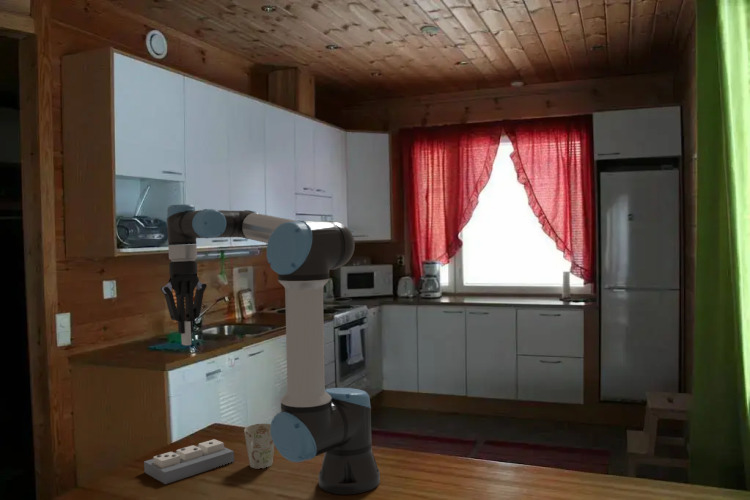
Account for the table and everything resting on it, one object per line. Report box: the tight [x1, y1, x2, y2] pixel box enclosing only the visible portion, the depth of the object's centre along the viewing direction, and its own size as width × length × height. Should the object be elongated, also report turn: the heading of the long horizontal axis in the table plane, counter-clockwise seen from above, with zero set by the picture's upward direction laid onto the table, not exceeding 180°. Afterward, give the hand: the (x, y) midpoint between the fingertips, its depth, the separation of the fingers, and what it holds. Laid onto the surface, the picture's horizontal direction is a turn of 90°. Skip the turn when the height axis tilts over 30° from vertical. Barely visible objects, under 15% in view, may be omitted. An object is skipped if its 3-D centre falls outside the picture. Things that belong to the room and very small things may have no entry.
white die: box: [175, 445, 203, 462], centre depth 165 cm, size 5×5×4 cm
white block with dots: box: [152, 451, 180, 469], centre depth 161 cm, size 5×5×4 cm
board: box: [143, 445, 235, 485], centre depth 165 cm, size 12×20×3 cm, turn 135°
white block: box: [197, 438, 225, 455], centre depth 170 cm, size 5×5×4 cm
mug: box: [243, 423, 275, 470], centre depth 163 cm, size 8×13×10 cm, turn 174°
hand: (186, 344), depth 170 cm, fingers closed
